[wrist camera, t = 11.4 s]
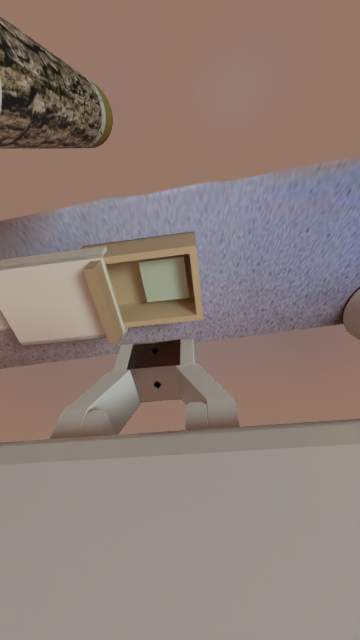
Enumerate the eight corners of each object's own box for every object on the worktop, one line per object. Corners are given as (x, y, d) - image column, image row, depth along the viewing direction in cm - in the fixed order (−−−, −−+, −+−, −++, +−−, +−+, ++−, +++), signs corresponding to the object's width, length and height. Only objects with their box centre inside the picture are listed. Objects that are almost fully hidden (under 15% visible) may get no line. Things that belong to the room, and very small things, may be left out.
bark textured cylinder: (51, 84, 31) (-216, -43, 10) (106, 75, 31) (-59, -76, 10) (70, 151, 35) (-99, 156, 14) (119, 144, 34) (20, 140, 14)
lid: (106, 246, 37) (93, 261, 32) (129, 324, 45) (122, 347, 40) (-11, 261, 39) (-40, 278, 34) (30, 335, 46) (12, 357, 41)
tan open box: (194, 231, 41) (196, 245, 35) (201, 298, 47) (203, 319, 41) (84, 246, 42) (67, 261, 36) (105, 308, 49) (94, 330, 43)
